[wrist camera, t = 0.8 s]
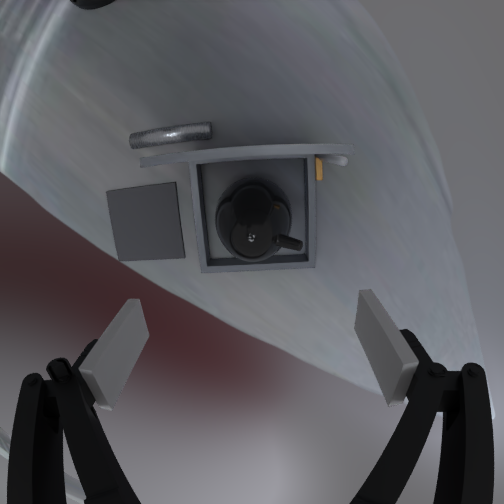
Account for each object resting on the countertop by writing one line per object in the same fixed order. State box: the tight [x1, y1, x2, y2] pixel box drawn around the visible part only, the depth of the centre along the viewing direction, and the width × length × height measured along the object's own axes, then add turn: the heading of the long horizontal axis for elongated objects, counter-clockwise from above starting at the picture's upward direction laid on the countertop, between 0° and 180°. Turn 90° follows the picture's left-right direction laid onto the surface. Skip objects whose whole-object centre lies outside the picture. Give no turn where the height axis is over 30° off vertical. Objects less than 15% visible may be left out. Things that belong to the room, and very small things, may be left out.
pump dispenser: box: [215, 178, 303, 262], centre depth 36 cm, size 10×10×15 cm
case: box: [140, 144, 354, 273], centre depth 33 cm, size 18×18×20 cm
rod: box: [129, 122, 212, 149], centre depth 38 cm, size 12×2×2 cm
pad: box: [106, 182, 185, 261], centre depth 44 cm, size 12×12×1 cm
